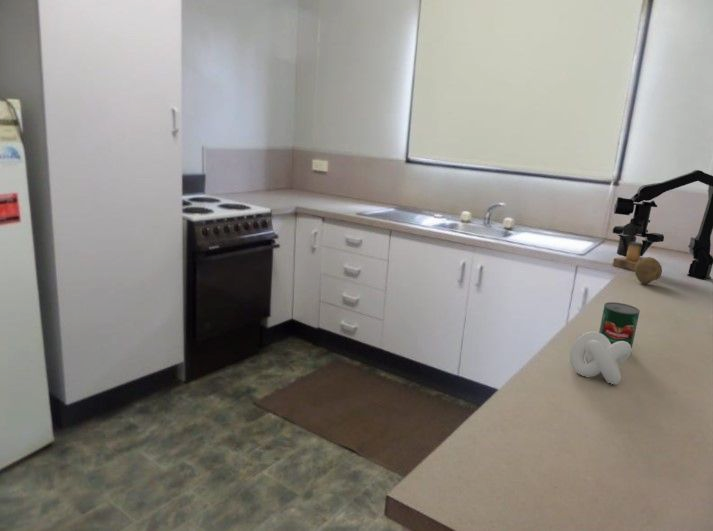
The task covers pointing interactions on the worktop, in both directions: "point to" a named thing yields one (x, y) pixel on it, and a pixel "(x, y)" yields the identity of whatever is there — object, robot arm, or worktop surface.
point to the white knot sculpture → (599, 356)
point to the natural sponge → (647, 270)
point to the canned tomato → (619, 322)
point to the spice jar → (634, 251)
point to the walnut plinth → (624, 263)
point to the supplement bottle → (621, 246)
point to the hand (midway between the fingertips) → (633, 254)
